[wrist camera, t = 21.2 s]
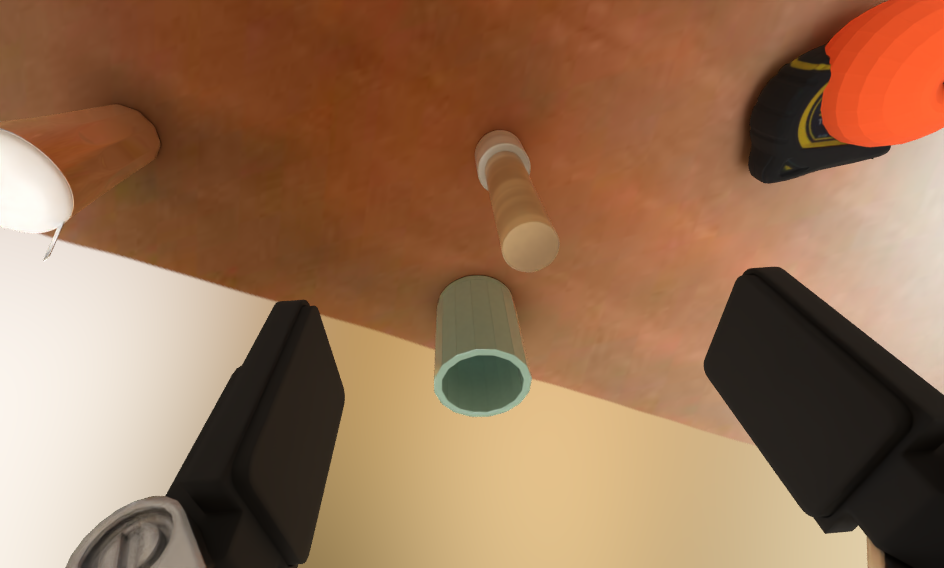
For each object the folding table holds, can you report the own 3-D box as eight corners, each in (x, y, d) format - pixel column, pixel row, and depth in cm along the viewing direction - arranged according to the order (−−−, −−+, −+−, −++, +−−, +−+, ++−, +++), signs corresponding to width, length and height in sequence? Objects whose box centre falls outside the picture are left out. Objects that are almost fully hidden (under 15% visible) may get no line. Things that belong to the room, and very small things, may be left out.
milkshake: (154, 196, 26) (16, 285, 18) (67, 122, 23) (-143, 185, 15) (202, 156, 25) (78, 231, 16) (116, 73, 22) (-84, 112, 14)
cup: (421, 307, 32) (413, 385, 25) (478, 260, 30) (487, 332, 23) (473, 348, 34) (479, 429, 28) (529, 308, 32) (550, 385, 26)
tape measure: (732, 172, 27) (769, 194, 24) (747, 56, 23) (794, 64, 20) (841, 147, 26) (894, 166, 23) (876, 24, 23) (944, 27, 19)
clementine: (949, -28, 21) (1142, -42, 15) (900, 111, 25) (1038, 143, 19) (790, 10, 22) (916, 10, 16) (765, 140, 26) (859, 179, 20)
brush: (464, 153, 25) (474, 246, 15) (501, 118, 24) (538, 195, 14) (496, 187, 27) (524, 294, 17) (532, 155, 26) (585, 249, 16)
